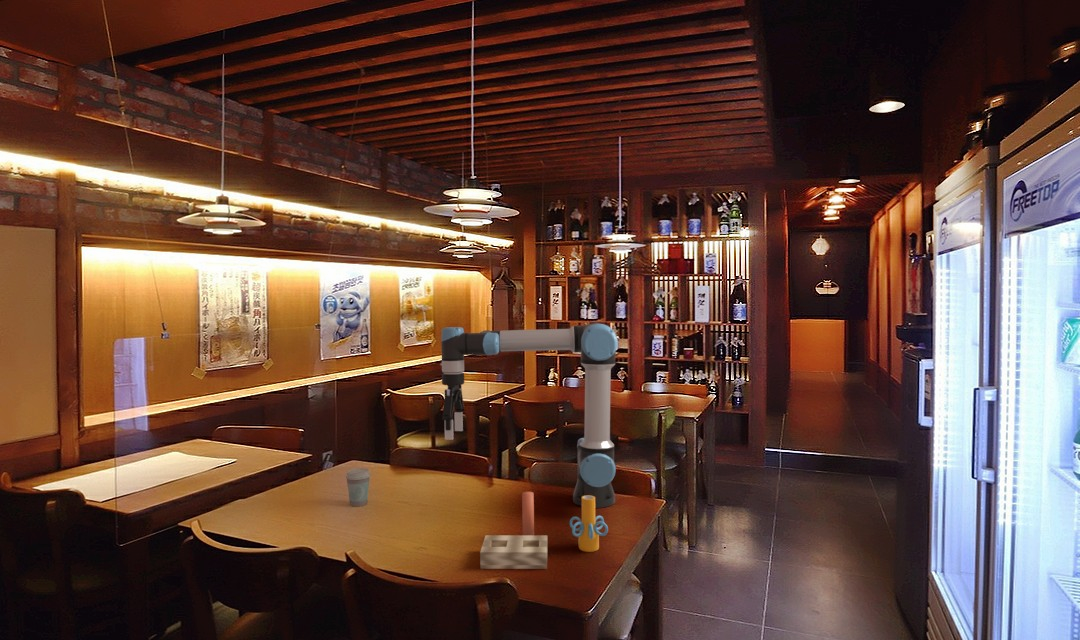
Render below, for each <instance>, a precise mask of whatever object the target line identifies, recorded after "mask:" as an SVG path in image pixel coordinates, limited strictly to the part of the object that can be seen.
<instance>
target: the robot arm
mask: <svg viewBox="0 0 1080 640" xmlns="http://www.w3.org/2000/svg"><path fill="white" fill-rule="evenodd" d="M440 345H441V347H440V349H441V362H440V364H439V365H440V366H441V372H442V373H441V384H442V385H443V386H447V389H444V399H443V401H444V402H443V410H442V417H441V421H444V440H445V441H449V440H450V441H453V440H454V432H463V431H464V429H463V428H464V424H463V421H464V419H463V417H464V416H463V413H464V412H465V411H466V408H465V406H464V398H463V390H462V385H464V384H465V373H464V372H465V356H493V355H494V356H495V355H498V354H499V352H530V351H531V352H535V351H538V352H539V351H543V352H544V351H571V352H572V353H573V354H575V353H580V364H581V366H582V367H583V368H584V369H585V370H584V435H583V437H581V438H579V439H578V440H577V445H576V448H577V481H576V485H575V487H574V490H573V493H572V501H573V503H574V504H575V505H577V506H580V507H582V496H586V495H591V496H594V497H595V509H596V508H597V509H599V508H606V507H611V506H612V505H614V504H615V503H616V495H615V491H614V488H613V485H612V481H613V479H614V477H615V476H616V470H617V466H616V463H615V444H614V443H613V442H612V440H611V383H612V382H611V381H612V380H611V376H612V375H611V373H612V372H611V370H612V368H614V366H615V365H616V351H617V348H618V338H617V335H616V333H615V331H614V330H613V328H612V327H610V326H609V325H607V324H605V323H600V322H593V323H592V322H591V323H588V324H583V325H582V324H581V325H572V326H571V327H570V328H550V329H549V328H548V329H544V328H543V329H515V330H514V329H513V330H512V329H511V330H509V329H508V330H488V329H486V330H481V331H480V332H465V331H464V328H463V327H461V326H449V327H443V328H442V329H441V339H440ZM454 410H455V411H454ZM453 414H454V419H453Z"/></svg>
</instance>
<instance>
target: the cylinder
mask: <svg viewBox="0 0 1080 640" xmlns="http://www.w3.org/2000/svg"><path fill="white" fill-rule="evenodd" d="M598 519H600V520H599V521H598ZM604 519H605V518H604V517H603V516H602V515H597V516H596V508H595V497H594V496H591V495H586V496H582V506H581V518H580V517H578V516H572V517H571V518H570V519H569V527H570V528H571V533H572V535H573V536H574V537H576V538H578V550H580V551H582V552H586V553H593V552H596V551H598V550H599V548H600V536H601V537H604V536H606V535H607V534H608V532H609V526H608V524H606V523H605V520H604ZM574 520H577V522H575V523H574V524H573V522H574ZM578 525H579V527H578V528H576V527H577V526H578ZM598 525H599V526H598ZM603 527H604V528H605V529H604V532H600V530H601V529H603ZM577 532H579V533H577Z"/></svg>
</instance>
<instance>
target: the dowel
mask: <svg viewBox="0 0 1080 640" xmlns="http://www.w3.org/2000/svg"><path fill="white" fill-rule="evenodd" d="M521 493H522V494H521V498H522V499H521V501H522V502H521V503H522V504H521V505H522V506H521V507H522V509H521V510H522V514H521V515H522V535H535V504H534V503H535V502H534V501H535V500H534V498H535V496H534V495H535V494H534V492H532V491H523V492H521Z"/></svg>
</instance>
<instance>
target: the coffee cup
mask: <svg viewBox="0 0 1080 640" xmlns="http://www.w3.org/2000/svg"><path fill="white" fill-rule="evenodd" d="M370 477H371V472H370V470H369V469H368V468H365V467H364V468H363V467H362V468H359V467H358V468H353V469H349V470H348V471H347V472H346V475H345V479H346V483H347V491H348V498H349V506H350V507H354V506H355V507H356V508H357V507H358V506H359V507H364V506H366V505H367V504H368V498H369V496H368V495H369V486H370ZM363 505H364V506H363Z"/></svg>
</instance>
